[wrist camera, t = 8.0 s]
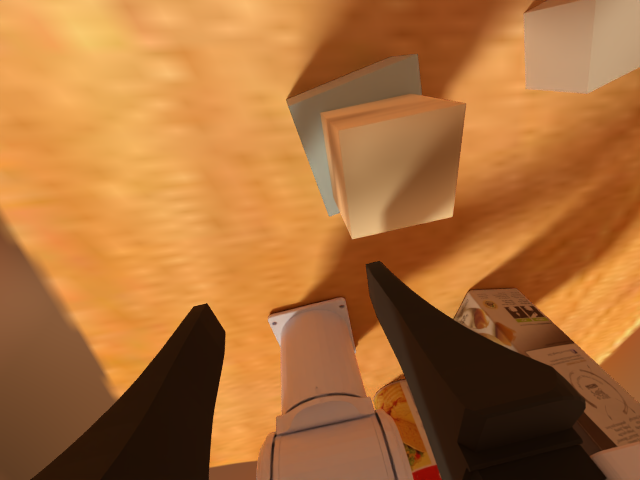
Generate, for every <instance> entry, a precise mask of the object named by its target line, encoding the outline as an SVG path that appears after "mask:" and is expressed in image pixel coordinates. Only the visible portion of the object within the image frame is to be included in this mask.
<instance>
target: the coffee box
mask: <svg viewBox="0 0 640 480" xmlns="http://www.w3.org/2000/svg"><path fill="white" fill-rule="evenodd" d="M454 320H455V321H457V322H458V323H460V324H462V325H464V326H465V327H467V328H469V329H471V330H473V331H475V332H476V333H478V334H480V335H482V336H484V337H486V338H488V339H490V340H492V341H494V342H496V343H498V344H500V345H502V346H504V347H506V348H508V349H511V350H513V351H515V352H517V353H520V354H522V355H525V356H527V357H530V358H532V359H535V360H537V361H539V362H542V363H544V364H547V365H549V366H552V367H553V368H554V369H555V370H556V371H557V372H559V373H560V374H561V375H562V376H563V377H564V378H565V379H566V380H567V381H568V382H569V383H570V384H571V385H572V386H573V387H574V388H575V389H576V390H577V392H578V393H579V394H580V395H581V396H582V397H583V398H584V399H585V402H586V408H585V410H584V412H583V414H582V415H581V416H580V417H579V419H578V420H577V421H576V422H575V424H574V425H573V426H572V427H573V429H574V430H575V431H576V432H577V433H578V435H579V436H580V437H581V438H582V441H583V443H582V444H580V445H581V447H582V448H583V449H584V450H585V452H586V453H587V454H588V455H589V456H591V455H593V454H595V453H597V452H600V451H603V450H607V449H611V448H615V447H619V446H623V445H627V444H630V443H634V442H640V404H639V402H637V401H636V400H635V399H634V398H633V397H632V396H631V395H630V394H629V393H628V392H627V391H626V390H625V389H624V388H622V387H621V386H620V385H619V384H618V383H617V382H616V381H615V380H614V379H613V378H612V377H611V376H610V375H609V374H607V373H606V372H605V371H604V370H603V369H602V368H601V367H600V366H599V365H598V364H597V363H596V362H595V361H594V360H593V359H592V358H590V357H589V356H588V355H587V354H586V353H585V352H584V351H583V350H582V349H581V348H580V347H579V346H578V345H576V344H575V343H574V342H573V341H572V340H571V339H570V338H569V337H568V336H567V335H566V334H565V333H564V332H563V331H562V330H560V329H559V328H558V327H557V326H556V325H555V324H554V323H553V322H552V321H551V320H550V319H549V318H548V317H547V316H545V315H544V314H543V313H542V312H541V311H540V310H539V309H538V308H537V307H536V306H535V305H534V304H533V303H532V302H531V301H529V300H528V299H527V298H526V297H525V296H524V295H523V294H522V293H521V292H520V291H519V290H518V289H516V288H511V289H487V290H470V291H469V292H468V293H467V295H466V297H465V299H464V301H463V303H462V305H461V306H460V308H459V310H458V312H457V314H456V316H455V318H454Z"/></svg>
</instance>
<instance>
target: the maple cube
mask: <svg viewBox="0 0 640 480" xmlns="http://www.w3.org/2000/svg"><path fill="white" fill-rule="evenodd" d="M465 110H466V103H462V102H456V101H450V100H445V99H439V98H433V97H428V96H422V95H417V94H406V95H401V96H396V97H392V98H387V99H382V100H378V101H373V102H368V103H364V104H359V105H354V106H349V107H345V108H340V109H335V110H331V111H326V112H321V113H320V116H321V122H322V129H323V135H324V142H325V148H326V154H327V161H328V167H329V173H330V180H331V186H332V192H333V198H334V200H335V202H336V205H337V207H338V209H339V211H340V214H341V216H342V218H343V220H344V222H345V225H346V227H347V229H348V231H349V234H350V236H351V238H352V239H356V238H360V237H365V236H369V235H374V234H378V233H383V232H387V231H392V230H396V229H401V228H405V227H410V226H414V225H418V224H423V223H427V222H432V221H436V220H441V219H445V218H450V217H453V209H454V201H455V193H456V184H457V176H458V168H459V159H460V151H461V143H462V134H463V126H464V118H465Z"/></svg>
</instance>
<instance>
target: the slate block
mask: <svg viewBox="0 0 640 480" xmlns="http://www.w3.org/2000/svg"><path fill="white" fill-rule="evenodd" d="M406 94H417V95H422V90H421V81H420V71H419V62H418V54H411V55H401V56H392V57H389V58H386V59H384V60H382V61H379V62H377V63H374V64H372V65H369V66H367V67H364V68H362V69H360V70H357V71H355V72H352V73H350V74H347V75H345V76H342V77H340V78H338V79H335V80H333V81H330V82H328V83H325V84H323V85H321V86H318V87H316V88H313V89H311V90H308V91H306V92H303V93H301V94H299V95H296V96H294V97H291V98H289V99H286V101H287V104H288V107H289V110H290V112H291V115H292V118H293V120H294V123H295V126H296V129H297V131H298V134H299V137H300V139H301V142H302V145H303V147H304V150H305V153H306V155H307V158H308V161H309V164H310V166H311V169H312V172H313V174H314V177H315V180H316V182H317V185H318V188H319V190H320V193H321V196H322V199H323V201H324V204H325V207H326V209H327V212H328V215H329V217H330V216H332V215H335V214H338V213H340V211H339V209H338V207H337V205H336V202H335V200H334V198H333V192H332V186H331V180H330V173H329V167H328V161H327V154H326V148H325V142H324V135H323V129H322V122H321V116H320V113H321V112H326V111H331V110H335V109H340V108H345V107H349V106H354V105H359V104H364V103H368V102H373V101H378V100H382V99H387V98H392V97H396V96H401V95H406Z"/></svg>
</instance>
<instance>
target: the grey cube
mask: <svg viewBox="0 0 640 480" xmlns="http://www.w3.org/2000/svg"><path fill="white" fill-rule="evenodd" d="M524 43H525V76H526V89H533V90H546V91H559V92H572V93H585V94H588V93H590V92H592V91H594V90H596V89H598V88H600V87H602V86H604V85H606V84H608V83H609V82H611V81H613V80H615V79H617V78H619V77H621V76H623V75H625V74H627V73H629V72H631V71H633V70H635V69H637V68H639V67H640V0H546V1H545V2H543V3H541V4H539V5H538V6H536V7H534V8H532V9H531V10H529V11H527V12H525V13H524Z"/></svg>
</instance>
